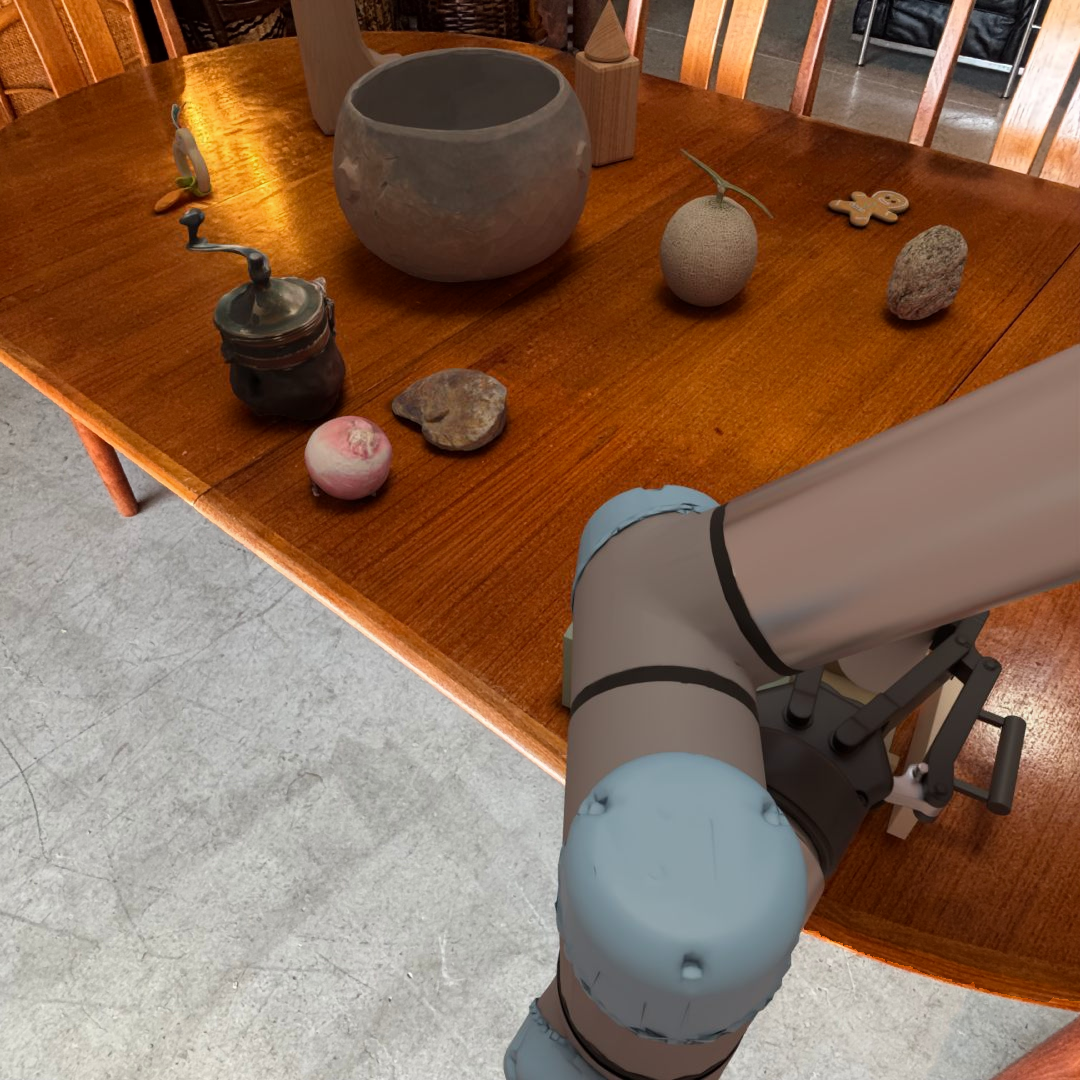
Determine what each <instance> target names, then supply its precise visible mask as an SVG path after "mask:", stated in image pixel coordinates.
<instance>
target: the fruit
mask: <svg viewBox="0 0 1080 1080" xmlns="http://www.w3.org/2000/svg"><path fill="white" fill-rule="evenodd" d="M680 152H681V153H682V154H683V155H685V156H686V157H687V158H688V159H690V160H691V162H692V163H694V164H695V165H696V166H697V167H699V168H700V169H701V170H703V171H704V173H706V174H707V175H708V176H709V177H711V179H712V180H713V181H714V182H715V185H716V188H717V192H716V195H714V194H713V195H712V194H711V195H703V196H700V197H696V198H695V199H691V200H690V201H688V202H687V203H685V204H683V205H682V206H681V207H680V208H678V209H677V211H676V212H675V213H674V214H673V215H672V216H671V218H670V219H669V221H668V223H667V224H666V226H665V229H664V231H663V236H662V238H661V240H660V241H661V242H660V247H659V262H660V263H659V264H660V269H661V272H662V274H663V277H664V278H663V279H664V280H665V282H666V284H667V286H668V287H669V289H670V290H671V291H672V293H673V294H674V295H676V296H677V298H679V299H680V300H682V301H684V302H685V303H688V304H690V305H693V306H697V307H704V308H710V307H718V306H720V305H722V304H725V303H726V302H729V301H730V300H732V299H733V298H734V297H736V295H738V294H739V293H740V292H741V291H742V290H743V289H744V288H745V286H747V283H748V281H749V280H750V278H751V277H752V274H753V273H754V269H755V266H756V262H757V257H758V248H759V247H758V245H759V242H758V233H757V229H756V226H755V222H754V221H753V219H752V217H751V215H750V214H749V213H748V211H747V210H746V208H745V207H744V206H742V205H741V204H739V203H738V202H737V201H735V200H734V199H732V198H730V197H728V196H725V194H726V192H727V190H731V191H733V192H736V193H738V194H740V195H742V196H743V197H745V198H747V199H748V200H749V201H751V202H752V203H754V204H755V205H757V206H758V207H760V208H761V209H762V211H763V212H764V213H765V214H766V215H767V217H768V218H769V219H770V220H772V219H773V218H774V217H773V216H772V214H771V213H770V211H769V210H768V209H767V207H765V205H764V204H763V203H761V201H759V200H758V199H757V198H756V197H755V196H753V195H751V194H749V193H748V192H747V191H745V190H744V189H742V188H740V187H738V186H736V185H733V184H731V183H730V182H728V181H727V180H725V179H723V178H722V177H721V176H720V175H718V173H716V172H715V170H713V169H712V168H710V167H709V166H707V165H706V164H705V163H703V162H702V161H700V160H699V159H697V158H696V157H694V156H693V155H691V154H689V152H688V151H686V150H684V149H683V148H681V149H680Z"/></svg>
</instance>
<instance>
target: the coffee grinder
mask: <svg viewBox="0 0 1080 1080" xmlns="http://www.w3.org/2000/svg"><path fill="white" fill-rule="evenodd" d="M205 219H206V214H205V212H204V210H201V208H196V207H194V208H190V209H188V210H187V211H185V213H184V214H183V215H182V216H181V217H179V219H178V223H179V225H181V226H185V227H187V232H188V243H186V245H185V250H187V251H190V252H203V253H204V252H205V253H212V252H213V253H214V252H224V253H232V254H235V255H239V256H242V257H244V258H245V259H246V262H247V271H248V276H249V278H250V279H251V280H249V281H247V282H245V283H242V284H240V285H238V286H236V287H234V288H232V289H231V290H230V291H229V292H228V293H225V294H223V295H222V296H221V297H220V298H219V300H218V302H217V305H216V307H215V308H214V311H213V317H212V322H213V325H214V328H215V329H216V330H217V331H219V335H220V336H221V341H222V343H221V344H220V347H219V348H220V353H221V356H222V358H224V359H225V360H224V362H223V363H224V365H228V364H230V365H229V373H228V374H229V379H228V380H229V383H230V386H231V389H232V392H233V394H234V396H235V397H236V398H237V399H238V400H239V401H241V402H242V403H243V404H245V405H246V406H247V407H248V408H249V409H251V410H252V411H253V414H254V415H256V416H257V417H258V418H260V417H261V416H265V415H271V416H282V417H287V418H292V419H295V420H299V421H305V420H307V421H309V422H310V421H312V420H318V419H321V418H322V417H324V416H325V415H326V414H327V413H329V412H330V411H331V410H332V409H333V408H334V406H335V404H336V402H337V399H338V398H339V391H340V390H341V388H342V386H343V384H344V381H345V377H346V374H347V373H346V371H347V369H346V363H345V360H344V358H343V355H342V353H341V351H340V349H339V347H338V345H337V342H336V338H337V335H338V331H337V329H336V310H335V305H336V304H335V302H334V300H333V298H332V297H327V281H326V279H325V278H324V277H323V276H319V277H317V278H316V279H312V280H310V281H307V280H306V279H304V278H301V277H296V276H285V277H284V276H283V277H271V276H272V266H271V265H270V260H269V257H268V255H266V254H265V253H264V252H262V251H261V250H259V249H256V248H254V247H247V246H243V245H240V244H239V245H238V244H218V243H217V244H216V243H210V242H209V241H208V238H207V237H199V236H197V235H198V231H199V228H200V226H201V225H202V223H204V221H205Z"/></svg>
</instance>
